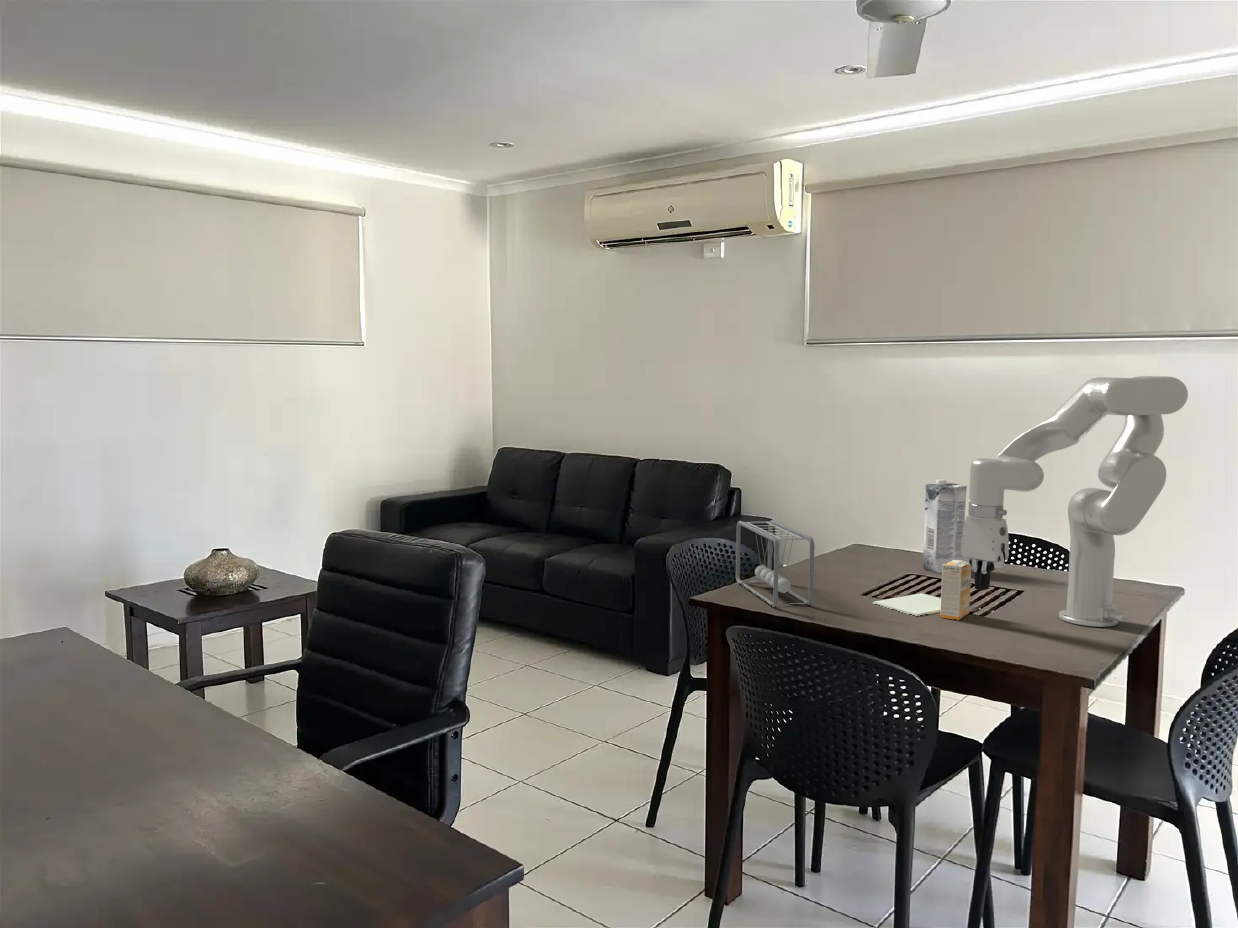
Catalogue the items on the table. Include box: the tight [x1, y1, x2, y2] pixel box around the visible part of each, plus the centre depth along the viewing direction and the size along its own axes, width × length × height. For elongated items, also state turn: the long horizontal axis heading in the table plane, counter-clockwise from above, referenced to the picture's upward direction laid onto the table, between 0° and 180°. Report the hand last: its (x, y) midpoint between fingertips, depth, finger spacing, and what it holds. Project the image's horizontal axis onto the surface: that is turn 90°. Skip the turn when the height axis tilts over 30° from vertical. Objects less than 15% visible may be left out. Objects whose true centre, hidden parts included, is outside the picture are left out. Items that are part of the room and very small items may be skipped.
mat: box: [872, 592, 941, 617], centre depth 234 cm, size 14×18×1 cm
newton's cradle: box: [735, 519, 815, 607], centre depth 244 cm, size 30×10×18 cm, turn 11°
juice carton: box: [922, 479, 968, 574], centre depth 274 cm, size 9×10×27 cm
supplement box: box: [939, 560, 972, 621], centre depth 224 cm, size 8×5×13 cm, turn 143°
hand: (981, 588), depth 217 cm, fingers closed
